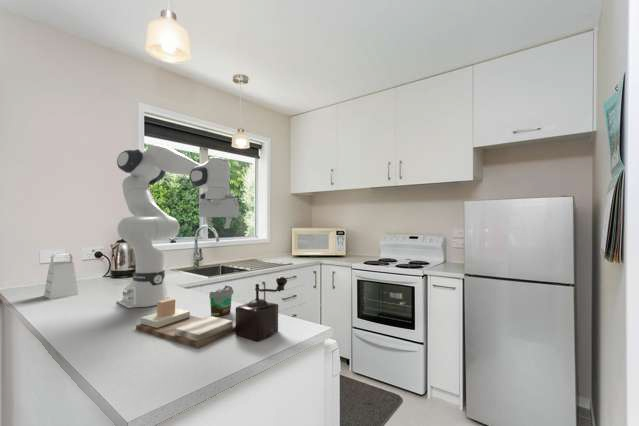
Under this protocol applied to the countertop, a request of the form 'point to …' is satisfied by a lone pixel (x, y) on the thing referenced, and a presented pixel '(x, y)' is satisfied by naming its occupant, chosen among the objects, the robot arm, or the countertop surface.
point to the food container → (221, 301)
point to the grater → (61, 279)
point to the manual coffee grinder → (258, 316)
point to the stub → (165, 314)
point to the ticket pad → (173, 337)
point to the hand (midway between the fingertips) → (218, 228)
